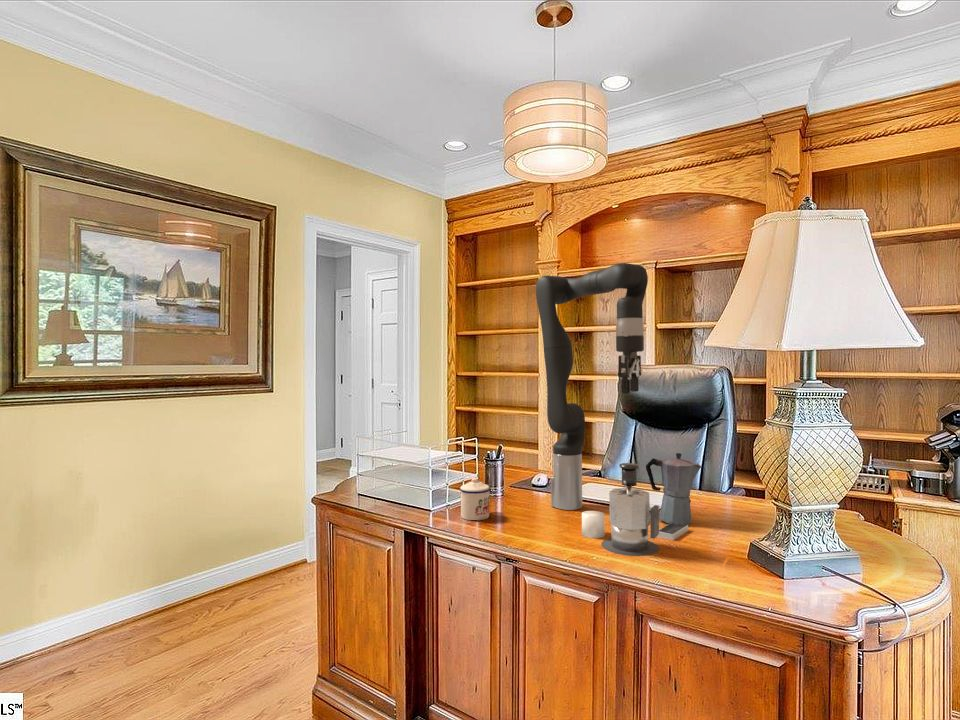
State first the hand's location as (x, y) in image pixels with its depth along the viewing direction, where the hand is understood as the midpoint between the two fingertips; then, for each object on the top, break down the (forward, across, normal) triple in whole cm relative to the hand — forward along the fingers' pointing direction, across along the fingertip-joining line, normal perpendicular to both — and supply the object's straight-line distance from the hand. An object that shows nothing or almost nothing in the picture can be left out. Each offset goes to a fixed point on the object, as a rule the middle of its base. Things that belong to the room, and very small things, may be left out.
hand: (630, 392), depth 151 cm
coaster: (+38, +16, +4) cm, 42 cm away
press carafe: (+38, +16, +5) cm, 41 cm away
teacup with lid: (+38, +11, -44) cm, 59 cm away
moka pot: (+38, -12, +9) cm, 41 cm away
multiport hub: (+39, 0, +11) cm, 40 cm away
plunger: (+31, +16, +4) cm, 35 cm away
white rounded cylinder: (+38, +12, -7) cm, 41 cm away
